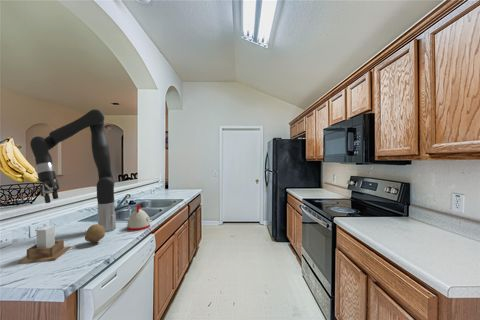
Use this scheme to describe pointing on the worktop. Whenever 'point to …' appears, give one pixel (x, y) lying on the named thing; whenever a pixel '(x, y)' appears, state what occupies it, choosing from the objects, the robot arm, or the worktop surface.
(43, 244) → the skincare box
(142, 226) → the kitchen timer
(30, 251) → the socket
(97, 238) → the natural sponge
